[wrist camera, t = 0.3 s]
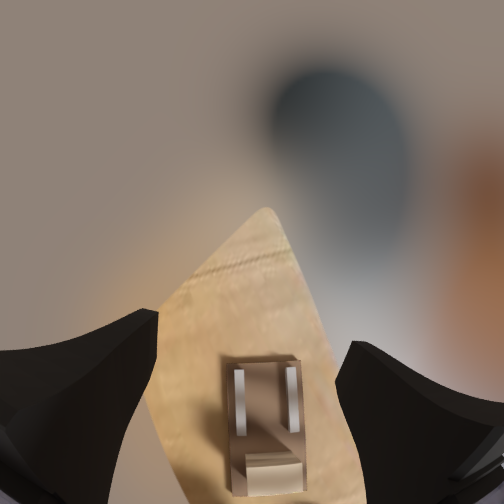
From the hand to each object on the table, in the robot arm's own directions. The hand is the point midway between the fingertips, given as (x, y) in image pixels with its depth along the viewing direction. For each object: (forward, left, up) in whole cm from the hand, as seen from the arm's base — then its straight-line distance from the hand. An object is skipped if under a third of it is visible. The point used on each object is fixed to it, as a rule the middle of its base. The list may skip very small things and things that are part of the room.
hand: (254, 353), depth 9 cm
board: (-8, -3, -29) cm, 30 cm away
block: (-13, -3, -27) cm, 30 cm away
